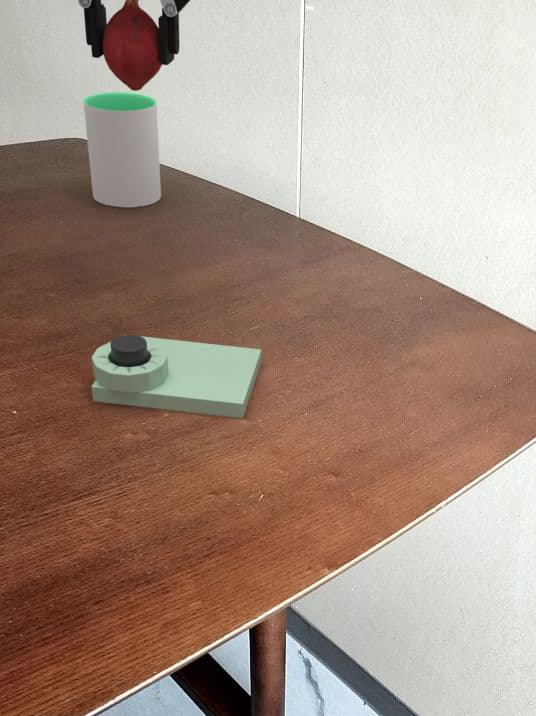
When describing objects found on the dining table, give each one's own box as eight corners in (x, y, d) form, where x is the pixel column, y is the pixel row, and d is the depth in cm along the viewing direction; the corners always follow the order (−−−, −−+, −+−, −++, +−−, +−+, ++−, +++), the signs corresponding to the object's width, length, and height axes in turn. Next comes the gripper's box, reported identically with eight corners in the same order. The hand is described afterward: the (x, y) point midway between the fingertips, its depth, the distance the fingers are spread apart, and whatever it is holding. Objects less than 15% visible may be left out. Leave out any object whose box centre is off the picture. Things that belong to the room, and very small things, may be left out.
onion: (167, 99, 83) (164, 2, 78) (105, 97, 82) (99, -1, 77) (163, 84, 87) (161, -9, 82) (105, 82, 86) (99, -12, 81)
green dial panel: (87, 403, 68) (82, 369, 66) (120, 348, 75) (117, 316, 73) (242, 421, 67) (242, 387, 65) (261, 363, 74) (262, 331, 72)
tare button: (107, 367, 67) (105, 349, 66) (117, 350, 69) (116, 332, 68) (142, 371, 67) (141, 353, 66) (151, 354, 69) (150, 336, 68)
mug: (90, 174, 109) (81, 83, 102) (154, 173, 111) (149, 83, 104) (94, 208, 100) (84, 110, 93) (164, 206, 102) (159, 110, 95)
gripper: (2, -198, 69) (32, 57, 80) (216, -178, 68) (215, 76, 80) (35, -196, 74) (58, 42, 86) (233, -178, 74) (229, 59, 85)
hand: (133, 56), depth 83 cm, fingers closed on onion, 5 cm apart
